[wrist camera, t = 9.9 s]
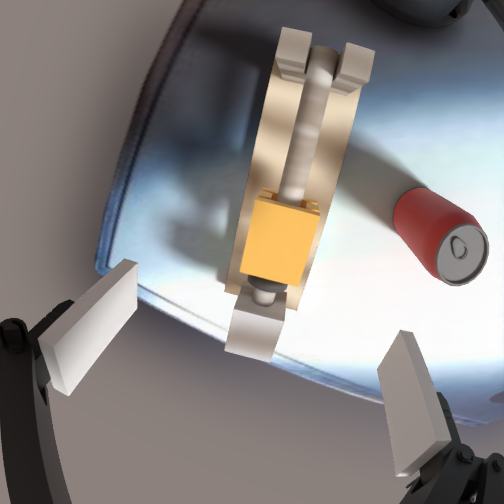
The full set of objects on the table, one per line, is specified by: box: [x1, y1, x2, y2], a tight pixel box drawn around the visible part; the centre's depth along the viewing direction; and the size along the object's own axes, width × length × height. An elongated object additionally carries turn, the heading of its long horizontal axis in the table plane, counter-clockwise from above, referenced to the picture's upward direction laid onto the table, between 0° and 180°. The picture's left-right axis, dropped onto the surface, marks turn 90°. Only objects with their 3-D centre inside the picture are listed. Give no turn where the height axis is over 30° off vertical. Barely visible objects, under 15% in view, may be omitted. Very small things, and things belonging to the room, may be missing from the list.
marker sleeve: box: [240, 187, 320, 287], centre depth 25 cm, size 6×5×5 cm
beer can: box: [393, 188, 489, 286], centre depth 26 cm, size 7×7×12 cm
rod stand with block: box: [224, 27, 375, 362], centre depth 27 cm, size 28×9×12 cm, turn 168°
